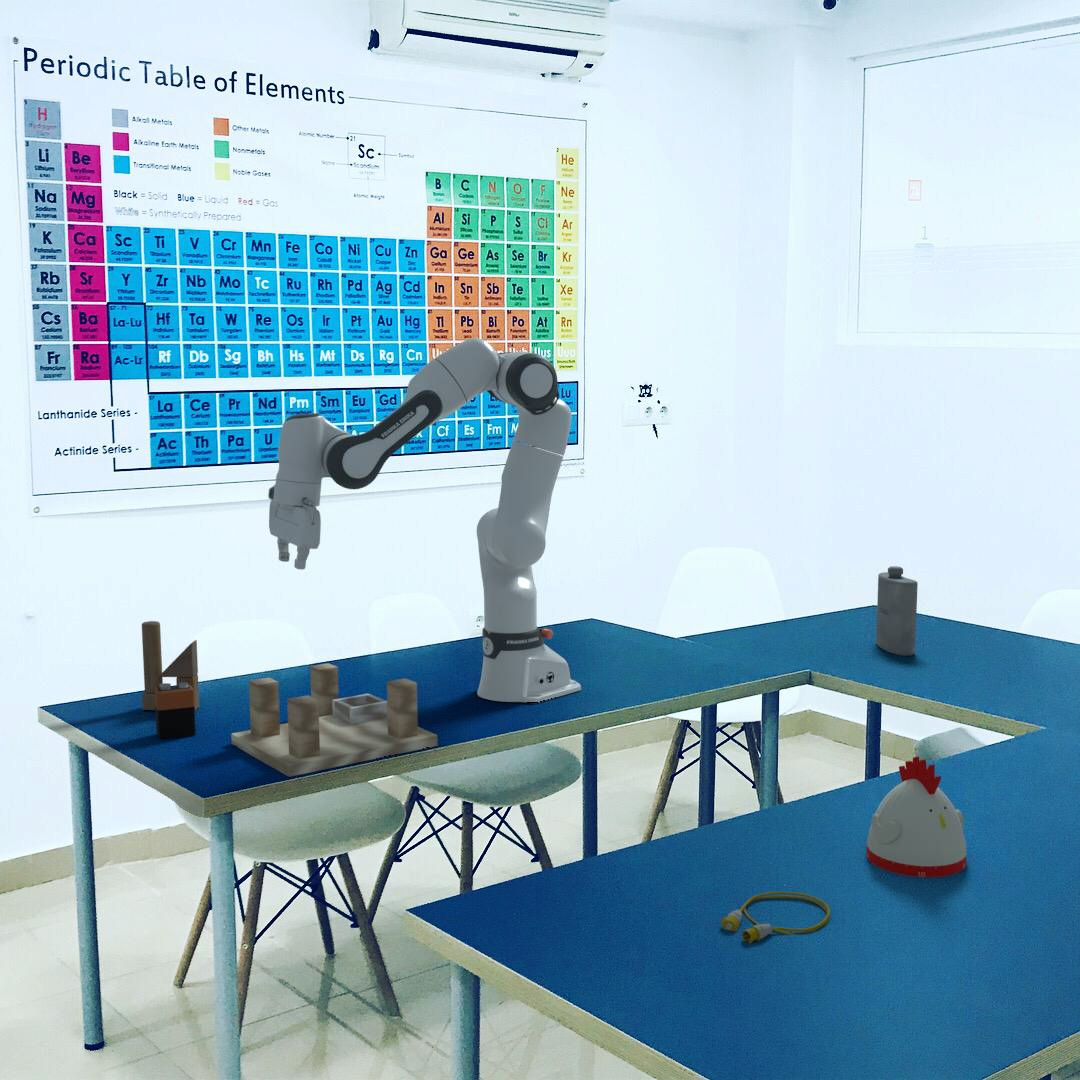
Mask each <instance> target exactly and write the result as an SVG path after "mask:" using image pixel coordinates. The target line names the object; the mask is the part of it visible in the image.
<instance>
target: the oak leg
mask: <svg viewBox="0 0 1080 1080" xmlns="http://www.w3.org/2000/svg"><path fill="white" fill-rule="evenodd" d="M309 668H310V670H309V671H310V672H309V673H310V696H311V697H313V698H315V699H317V700H318V702H319V717H324V716H329V715H333V711H332V700H334V699H340V698H339V695H340V694H339V667H338V666H336V665H333V664H331V663H322V664H321V663H320V664H316V665H314V664H313V665H310V667H309Z"/></svg>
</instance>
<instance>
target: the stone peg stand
mask: <svg viewBox="0 0 1080 1080" xmlns="http://www.w3.org/2000/svg"><path fill="white" fill-rule="evenodd" d="M279 687H280V686H279V681H278V680H275V679H273V678H271V677H264V678H258V679H251V680H248V693H249V694H248V695H249V718H250V720H249V721H250V729H249V730H243V731H238V732H232V733H231V745H233V746H234V745H235V747H236V746H237V747H236V748H238V749H240V750H242V751H243V752H244V753H247V754H248V755H250V756H252V757H253V758H255V759H257V760H259V761H261V762H263V763H264V764H266V765H268V766H269V767H271V768H273V769H275V770H276V771H278V772H280V773H282V774H284V775H285V776H287V777H288V778H289V777H294V776H300V775H305V774H309V773H314V772H318V771H323V770H328V769H333V768H337V767H342V766H347V765H352V764H356V763H357V764H358V763H361V762H366V761H372V760H377V759H381V758H385V757H384V756H386V757H389V755H391V756H396V755H399V754H403V753H409V752H413V751H419V750H423V748H424V749H427V748H426V747H429V748H433V747H438V745H439V744H438V742H439V741H438V735H437V734H435V733H433V732H431V731H429V730H426V729H424V728H422V727H419V726H418V724H419V723H418V682H416V681H413V680H410V679H409V678H401V679H400V678H399V679H393V680H389V681H386V697H387V698H386V699H387V700H384V699H383V698H381V697H378V696H375V695H373V694H370V693H363V694H359V695H358V694H357V695H353V696H347V697H346V696H345V697H341V698H339V699H334V700H332V711H333V715H329V716H324V717H319V702H318V700H317V699H315V698H313V697H311V695H308V694H307V695H306V694H305V695H303V696H297V697H290V698H287V702H286V704H287V722H286V723H281V721H280V692H279V691H280V690H279ZM395 754H396V755H395ZM380 757H381V758H380ZM376 758H377V759H376Z"/></svg>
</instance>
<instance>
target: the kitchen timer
mask: <svg viewBox="0 0 1080 1080" xmlns="http://www.w3.org/2000/svg"><path fill="white" fill-rule="evenodd" d="M935 769H936V765H935V764H928V766H927V760H926V758H925V759H920V756H913V758H912V760H906V761H905V764H904V765H899V766H898V770H899V771H898V772H899V775H900V779H901V782H900V783H899V784H897V785H896V786H894V788H893V787H892V789H891V790H890V791H889V792H888V793H887V794H886V795H885V796H884V798H883V799H882V800H881V802H880V804H879V805H878V806H877V807H878V808H877V809H876V810H875V813H872V815H871V824H870V827H869V831H868V836H867V841H866V851H865V852H866V854H865V855H866V858H867V859H868V861H869V862H870V863H871V864H873V865H874V866H876V867H878V868H880V869H882V870H885V871H886V872H887V871H888V872H890V873H894V874H897V875H902V876H907V877H908V876H909V877H913V878H915V877H918V878H940V877H941V878H942V877H947V876H952V875H956V874H958V873H959V872H962V871H964V869H965V868H966V866H967V843H966V837H965V834H964V831H963V829H964V825H965V820H964V819H965V818H964V816H963V813H962V812H961V810H960V809H956V808H955V806H954V804H953V803H952V802H951V800H950V799H949V798H948V796H947V795H946V793H944V791H943V790H942V789H941V788H940V787H939V785H940V782H941V780H942V775H938V776H936V775H935V774H936V772H935V771H936V770H935Z"/></svg>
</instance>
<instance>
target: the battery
mask: <svg viewBox="0 0 1080 1080" xmlns="http://www.w3.org/2000/svg"><path fill="white" fill-rule="evenodd" d="M196 728H197V727H196V710H195V704H194V690H193V688H192V687H191V686H190V685H188V683H186V682H184V683H179V685H177V684H176V685H171V682H170V683H166V682H165V683H164V682H163V684H160V687H158V688H155V731H156V734H157V736H158V738H159V739H161V740H164V739H163V738H167V739H173V738H172V737H176V738H181V737H182V736H184V737H191V735H192V736H195V735H196V733H197V732H196V731H197V730H196ZM182 738H183V737H182Z"/></svg>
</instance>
